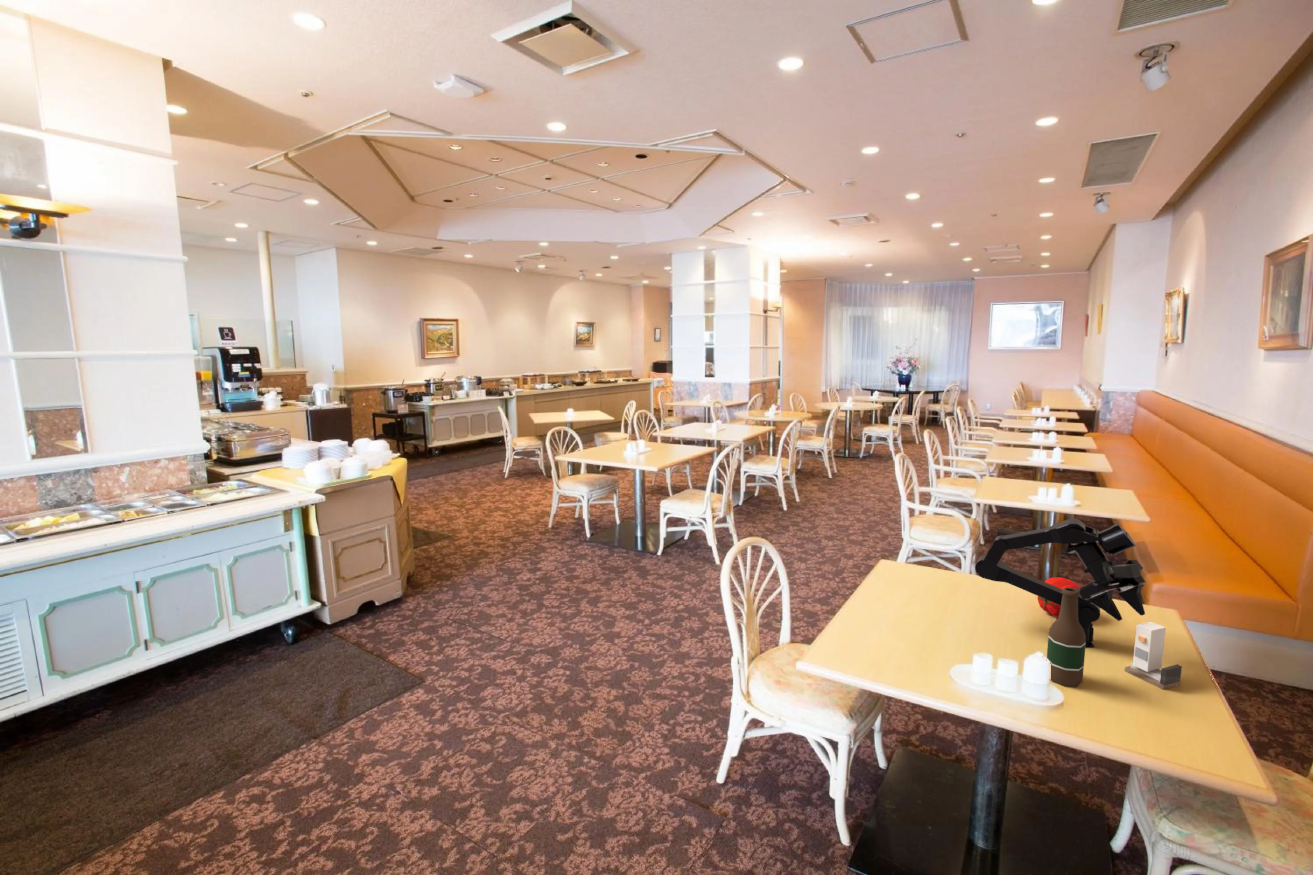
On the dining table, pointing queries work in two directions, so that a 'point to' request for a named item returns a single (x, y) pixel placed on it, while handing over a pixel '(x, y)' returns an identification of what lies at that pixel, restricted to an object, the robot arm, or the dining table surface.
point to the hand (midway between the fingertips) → (1131, 617)
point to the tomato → (1061, 584)
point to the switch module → (1149, 646)
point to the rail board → (1158, 675)
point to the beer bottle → (1067, 643)
